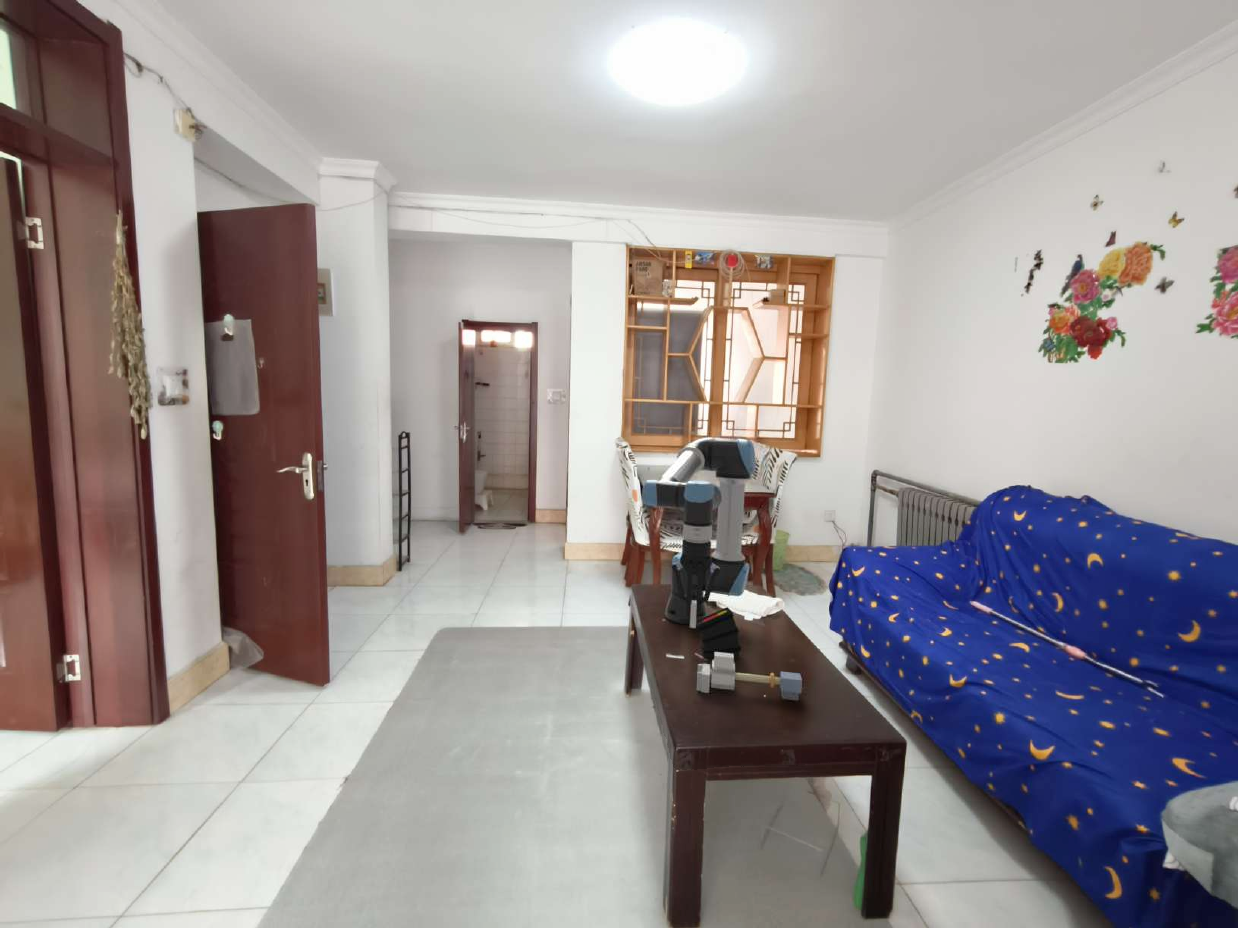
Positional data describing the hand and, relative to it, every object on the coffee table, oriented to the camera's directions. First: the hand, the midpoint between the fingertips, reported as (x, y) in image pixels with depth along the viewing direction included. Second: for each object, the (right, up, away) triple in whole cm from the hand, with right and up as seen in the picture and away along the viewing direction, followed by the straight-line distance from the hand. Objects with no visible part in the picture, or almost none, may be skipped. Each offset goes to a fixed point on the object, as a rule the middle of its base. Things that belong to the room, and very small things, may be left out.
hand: (692, 625), depth 145 cm
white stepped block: (+8, -16, 0) cm, 18 cm away
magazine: (+10, -15, +20) cm, 27 cm away
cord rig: (+14, -17, 0) cm, 23 cm away
